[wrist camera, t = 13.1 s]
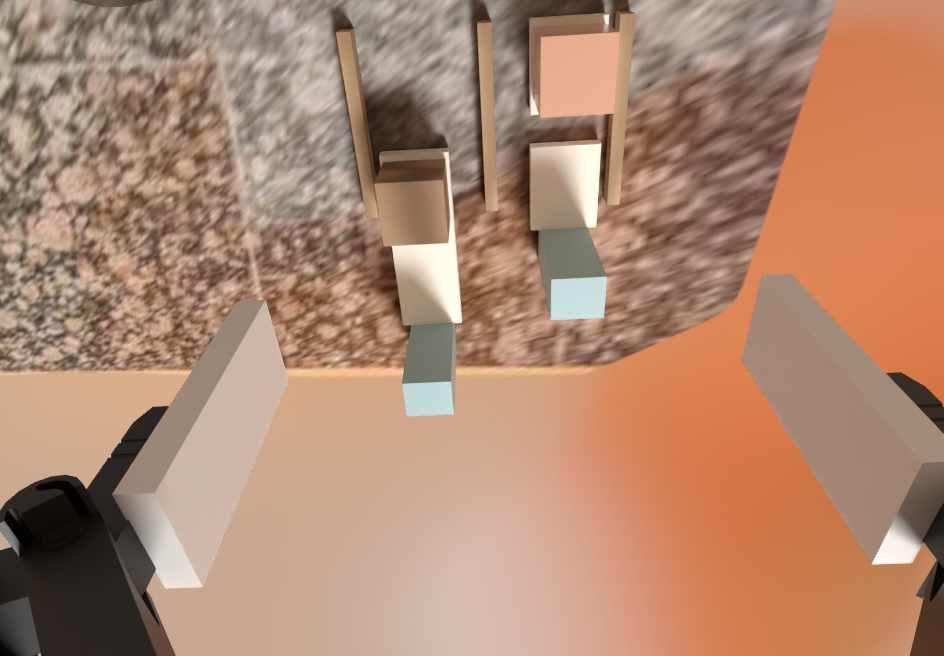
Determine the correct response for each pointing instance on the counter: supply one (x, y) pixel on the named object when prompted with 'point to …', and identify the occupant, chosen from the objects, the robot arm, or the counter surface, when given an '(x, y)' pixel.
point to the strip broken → (566, 207)
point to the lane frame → (486, 113)
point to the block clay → (575, 69)
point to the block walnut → (413, 202)
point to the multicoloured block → (429, 308)
